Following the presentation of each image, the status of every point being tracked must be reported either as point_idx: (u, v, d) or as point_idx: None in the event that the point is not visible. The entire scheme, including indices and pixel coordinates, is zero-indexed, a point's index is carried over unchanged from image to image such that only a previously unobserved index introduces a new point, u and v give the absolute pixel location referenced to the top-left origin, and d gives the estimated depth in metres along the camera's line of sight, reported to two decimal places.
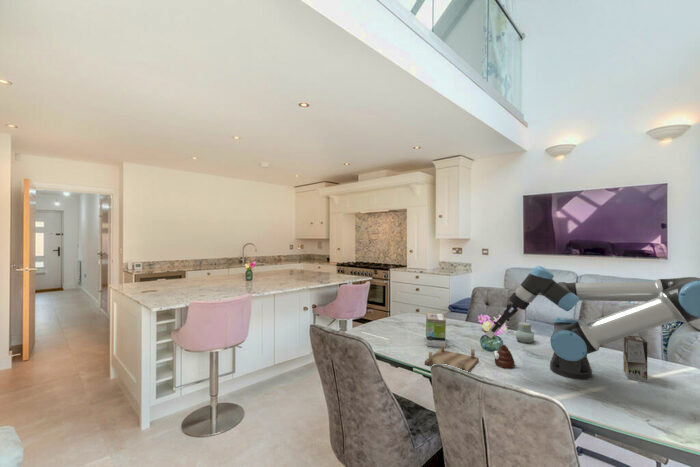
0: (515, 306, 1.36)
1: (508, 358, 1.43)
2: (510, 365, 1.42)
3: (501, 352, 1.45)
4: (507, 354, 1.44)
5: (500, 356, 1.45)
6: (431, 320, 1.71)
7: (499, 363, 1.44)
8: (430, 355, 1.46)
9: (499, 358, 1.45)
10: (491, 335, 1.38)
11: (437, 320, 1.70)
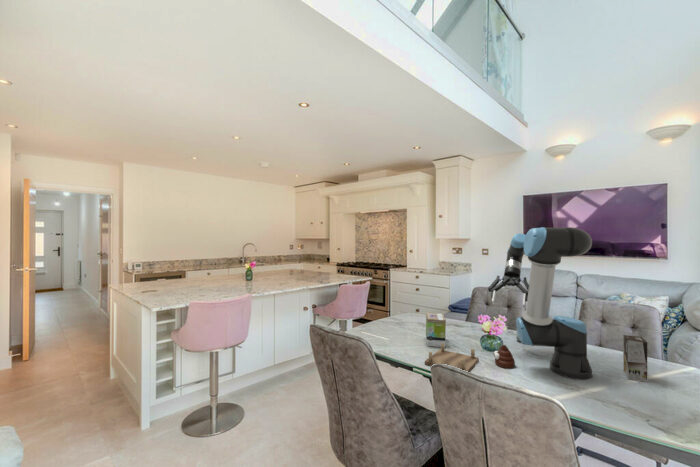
0: None
1: (508, 358, 1.43)
2: (510, 365, 1.42)
3: (501, 352, 1.45)
4: (507, 354, 1.44)
5: (500, 356, 1.45)
6: (431, 320, 1.71)
7: (499, 363, 1.43)
8: (430, 355, 1.46)
9: (499, 358, 1.45)
10: None
11: (437, 320, 1.70)
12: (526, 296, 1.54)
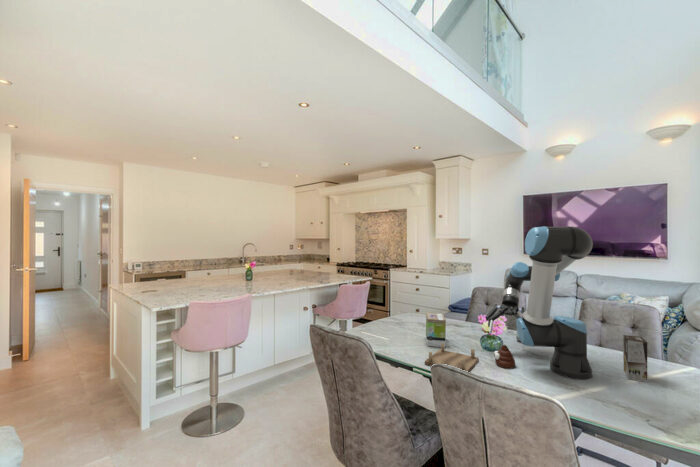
0: None
1: (509, 358, 1.43)
2: (511, 365, 1.42)
3: (502, 352, 1.45)
4: (508, 354, 1.44)
5: (501, 356, 1.45)
6: (431, 320, 1.71)
7: (500, 363, 1.43)
8: (430, 355, 1.46)
9: (500, 358, 1.45)
10: None
11: (437, 320, 1.70)
12: None
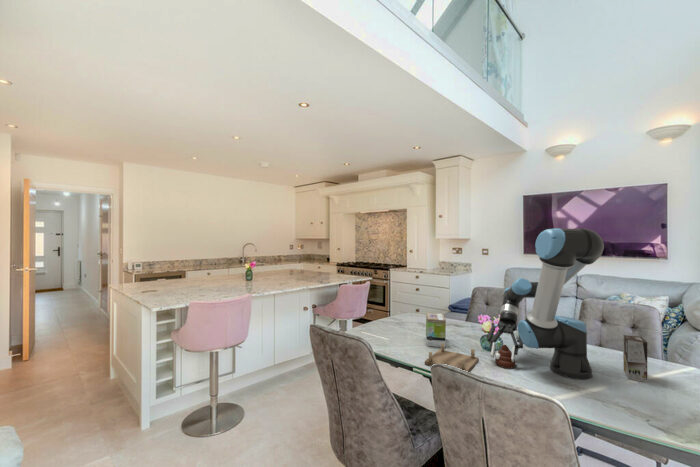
0: (499, 321, 1.57)
1: (509, 358, 1.43)
2: (511, 365, 1.42)
3: (502, 352, 1.45)
4: (508, 354, 1.44)
5: (501, 356, 1.45)
6: (431, 320, 1.71)
7: (500, 363, 1.43)
8: (430, 355, 1.46)
9: (500, 358, 1.45)
10: None
11: (437, 320, 1.70)
12: (515, 349, 1.44)
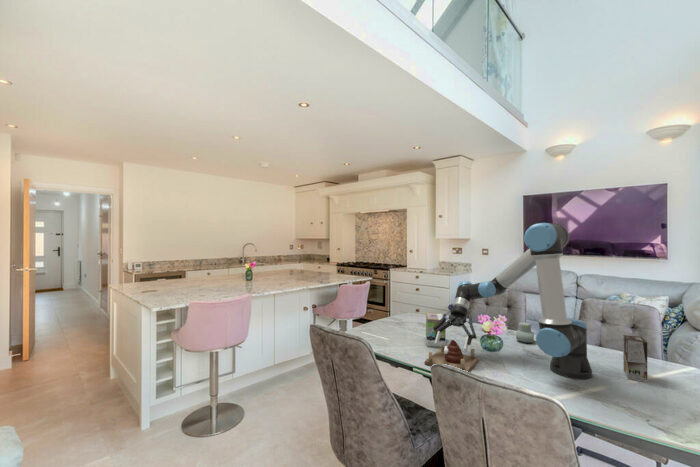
0: None
1: (456, 353, 1.45)
2: (458, 360, 1.44)
3: (450, 347, 1.47)
4: (455, 349, 1.46)
5: (449, 351, 1.47)
6: (431, 320, 1.71)
7: (448, 358, 1.46)
8: (430, 355, 1.46)
9: (448, 353, 1.47)
10: None
11: (437, 320, 1.70)
12: (469, 339, 1.45)
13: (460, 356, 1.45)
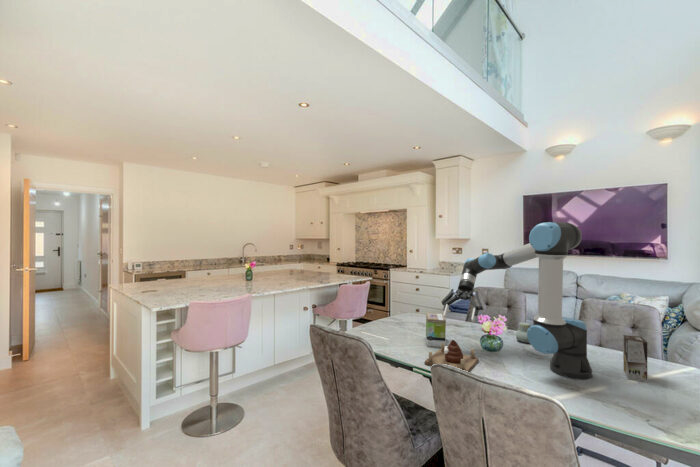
0: None
1: (456, 353, 1.45)
2: (458, 360, 1.44)
3: (450, 347, 1.47)
4: (455, 349, 1.46)
5: (449, 351, 1.47)
6: (431, 320, 1.71)
7: (448, 358, 1.46)
8: (430, 355, 1.46)
9: (448, 353, 1.47)
10: None
11: (437, 320, 1.70)
12: (476, 311, 1.54)
13: (460, 356, 1.45)
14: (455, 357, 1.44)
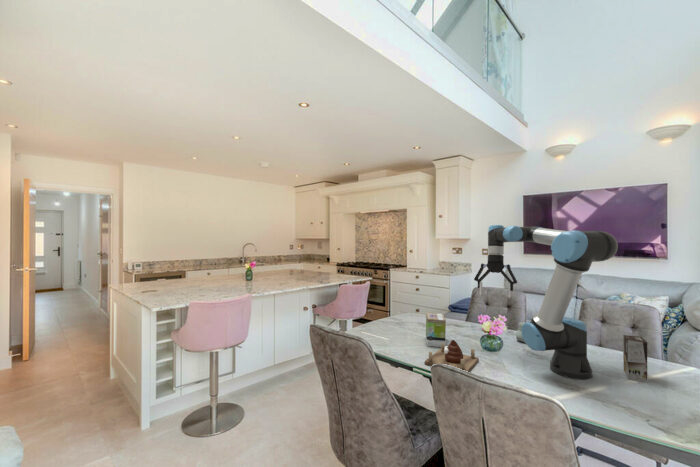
0: None
1: (456, 353, 1.45)
2: (458, 360, 1.44)
3: (450, 347, 1.47)
4: (456, 349, 1.46)
5: (449, 351, 1.47)
6: (431, 320, 1.71)
7: (448, 358, 1.46)
8: (430, 355, 1.46)
9: (448, 353, 1.47)
10: None
11: (437, 320, 1.70)
12: (511, 287, 1.59)
13: (460, 356, 1.45)
14: (455, 357, 1.44)
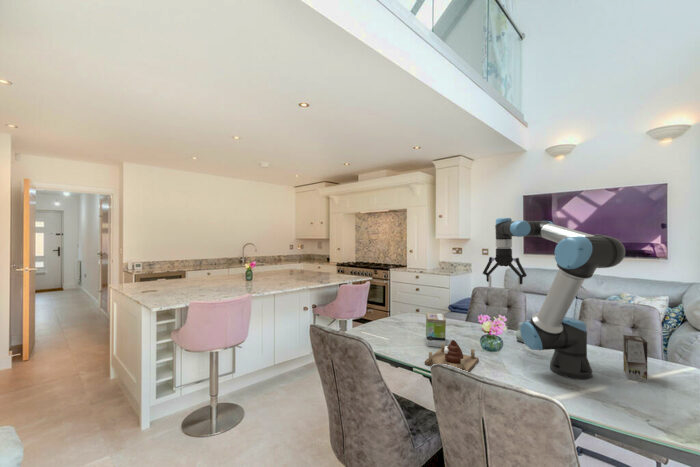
0: None
1: (456, 353, 1.45)
2: (458, 360, 1.44)
3: (450, 347, 1.47)
4: (456, 349, 1.46)
5: (449, 351, 1.47)
6: (431, 320, 1.71)
7: (448, 358, 1.46)
8: (430, 355, 1.46)
9: (448, 353, 1.47)
10: None
11: (437, 320, 1.70)
12: (520, 280, 1.58)
13: (460, 356, 1.45)
14: (455, 357, 1.44)
